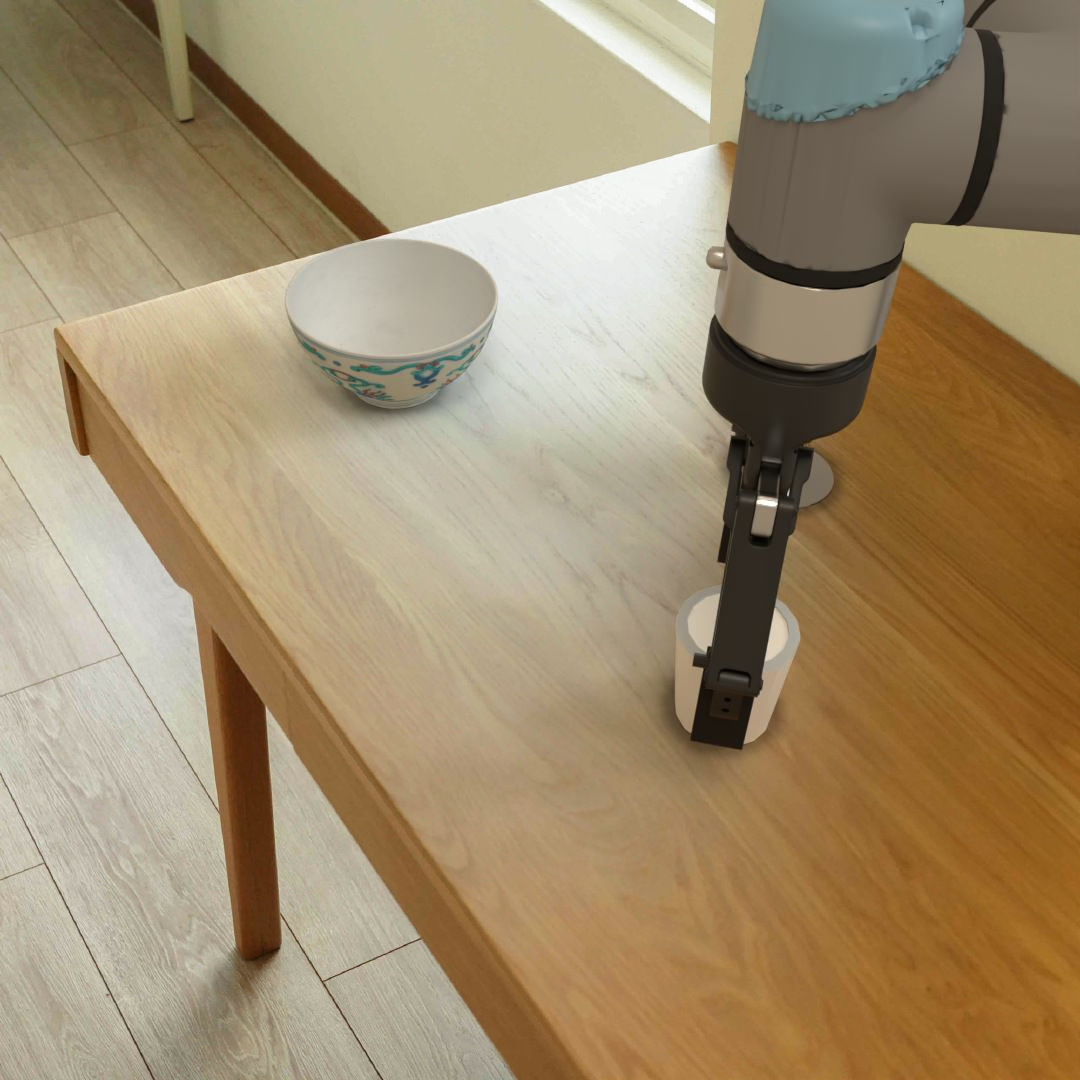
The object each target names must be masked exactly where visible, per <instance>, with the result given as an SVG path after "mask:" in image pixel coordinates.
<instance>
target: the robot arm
mask: <svg viewBox="0 0 1080 1080" xmlns="http://www.w3.org/2000/svg"><path fill="white" fill-rule="evenodd" d="M763 1H764V2H763V7H762V9H761V10H762V11H761V16H760V21H759V26H758V29H757V35H756V40H755V45H754V48H753V52H752V57H751V61H750V62H751V63H750V66H749V70H748V71H747V73H746V74H745V77H744V95H743V102H742V109H741V118H740V123H739V132H738V138H737V146H736V152H735V158H734V159H735V160H734V166H733V167H734V169H733V172H732V173H733V174H732V181H731V188H730V196H729V203H728V211H727V218H726V224H725V236H724V239H723V240H724V241H723V246H716V245H715V246H714V245H713V246H710V248H709V249H708V250H707V253H706V257H705V263H706V265H707V266H708V268H710V269H713V270H717V271H719V274H718V278H717V285H716V290H715V297H714V304H713V307H714V314H713V316H712V317H711V321H710V323H709V328H708V334H707V340H706V341H707V342H706V348H705V354H704V360H703V367H702V375H701V384H702V389H703V393H704V395H705V397H706V399H707V401H708V403H709V404H710V406H711V407H712V409H714V410H715V412H716V413H718V415H719V416H720V417H722V418H723V419H724V420H725V421H727V422H728V423H730V424H731V430H730V431H731V432H733V433H734V435H733V434H731V435H730V439H729V445H728V452H727V456H726V468H727V469H726V470H727V471H728V473H729V478H728V481H727V482H728V483H727V489H726V495H725V502H724V506H723V513H722V521H723V527H722V532H721V536H720V544H719V547H718V548H719V549H718V554H717V560H716V562H717V563H718V564H719V563H720V564H724V568H723V569H724V570H723V573H722V574H723V575H722V581H721V584H722V586H721V592H720V598H719V604H718V610H717V616H716V622H715V627H714V633H713V639H712V645H711V646H708V647H707V652H706V654H700V653H694V658H693V664H692V666H693V667H699V668H703V673H702V679H701V684H700V689H699V695H698V700H697V705H696V710H695V716H694V721H693V726H692V732H691V733H690V739H689V741H690V742H695V743H701V744H706V745H711V746H716V745H717V746H716V747H723V748H727V749H733V750H739V751H743V747H744V745H745V744H744V740H745V736H746V732H747V727H748V723H749V719H750V714H751V710H752V706H753V702H754V697H758V695H760V690H761V691H762V687H763V680H762V672H763V667H764V662H765V656H766V651H767V646H768V641H769V635H770V630H771V625H772V619H773V614H774V609H775V604H776V598H777V599H778V592H779V588H780V582H781V576H782V571H783V566H784V562H785V556H786V551H787V545H788V541H789V537H791V536H792V535H793V534H794V533H795V531H796V526H797V521H798V515H799V509H800V508H799V504H800V498H801V492H802V487H803V485H804V484H805V483H806V482H807V481H808V479H809V477H810V472H811V466H812V461H813V454H814V452H815V447H812V446H811V447H810V446H805V445H807V444H811V443H812V441H816V440H818V439H823V438H826V437H830V436H832V435H835V434H837V433H839V432H841V431H843V430H844V429H846V428H847V427H848V426H850V425H851V424H852V423H853V422H854V421H855V420H856V418H857V417H858V416H859V415H860V413H861V410H862V409H863V406H864V403H865V399H866V395H867V391H868V388H869V384H870V380H871V376H872V372H873V369H874V366H875V365H874V364H875V361H876V356H877V351H878V346H877V344H879V343H880V341H881V338H882V336H883V333H884V330H885V327H886V323H887V319H888V315H889V312H890V308H891V304H892V300H893V296H894V293H895V289H896V286H897V281H898V278H899V274H900V270H901V266H902V262H903V255H904V249H905V246H906V245H905V243H906V238H907V236H908V234H909V231H910V229H911V227H912V225H913V224H923V225H940V226H951V227H952V226H953V227H954V226H955V227H961V226H962V227H963V226H965V227H976V228H977V227H978V228H989V229H990V228H991V229H1002V230H1013V231H1014V230H1015V231H1023V232H1024V231H1025V232H1037V233H1051V234H1059V235H1060V234H1061V235H1075V236H1080V0H763ZM742 467H743V469H742ZM741 471H742V472H741ZM789 489H790V490H789ZM788 491H789V496H787V493H788Z"/></svg>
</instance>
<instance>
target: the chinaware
mask: <svg viewBox="0 0 1080 1080" xmlns="http://www.w3.org/2000/svg"><path fill="white" fill-rule="evenodd" d="M498 304H499V290H498V285H497V284H496V281H495V279H494V277H493V276H492V274H491V272H489V270H488V269H487V268H486V267H485V266H484V265H483V264H482V263H481V262H479V261H478V260H477V259H475V258H473V257H472V256H470V255H469V254H467V253H465V252H463V251H461V250H458V249H456V248H453V247H450V246H449V245H444V244H441V243H436V242H433V241H428V240H421V239H413V238H378V239H377V238H376V239H369V240H368V239H367V240H363V241H357V242H352V243H349V244H348V243H347V244H345V245H342V246H338V247H336V248H333V249H330V250H328V251H326V252H324V253H322V254H320V255H318V256H316V257H314V258H313V259H311V260H310V261H308V262H307V263H305V264H304V265H303V266H301V267H300V269H298V270H297V271H296V272H295V273H294V275H293V276H292V278H291V279H290V281H289V282H288V284H287V288H286V290H285V295H284V307H285V312H286V315H287V318H288V321H289V324H290V327H291V329H292V331H293V333H294V336H295V337H296V340H297V342H298V343H299V345H300V347H301V348H302V350H303V352H304V353H305V355H306V356H307V357H308V359H309V360H310V361H311V363H313V365H314V366H315V367H316V368H317V369H318V370H319V371H320V372H321V373H322V374H323V375H325V377H327V378H328V379H329V380H331V381H333V382H334V383H335V384H337V385H338V386H339V387H342V388H343V389H345V390H347V391H349V392H351V393H354V394H355V396H356V397H358V398H359V399H360V400H362V401H363V402H365V403H367V404H368V405H372V406H374V407H378V408H383V409H391V410H398V409H399V410H400V409H409V408H413V407H417V406H420V405H422V404H424V403H426V402H428V401H430V400H431V399H432V398H433V397H435V396H436V394H438V392H439V391H440V390H441V389H443V388H444V387H446V386H449V385H450V384H451V383H452V382H454V381H455V380H456V379H458V378H459V377H460V376H461V375H463V374H464V373H465V372H466V371H467V370H468V368H469V367H470V366H471V365H472V364H473V363H474V362H475V360H476V359H477V357H478V356H479V354H481V351H482V350H483V347H484V346H485V344H486V342H487V341H488V338H489V335H490V334H491V330H492V328H493V324H494V321H495V317H496V313H497V310H498Z"/></svg>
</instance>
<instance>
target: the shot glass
mask: <svg viewBox="0 0 1080 1080" xmlns="http://www.w3.org/2000/svg"><path fill="white" fill-rule="evenodd" d="M721 586H722V583H719V584H716V585H713V586H708V587H704V588H702V589H698V590H697V591H696V592H695V593H693V594H692V595H691V596H689V597H688V598H687V599H686V600H684V601H683V602H682V604H681V606H680V608H679V610H678V612H677V614H676V616H675V647H674V648H675V649H674V650H675V652H674V653H675V654H674V655H675V656H674V657H675V659H674V671H675V672H674V705H675V706H674V708H675V716H676V717H677V719H678V720H679V723H680V724H681V725H682V727H683V729H684V730H686V731H687V732H688V733H689V734H691V732H692V726H693V721H694V716H695V710H696V705H697V700H698V695H699V689H700V684H701V679H702V673H703V668H699V667H693V666H692V664H693V658H694V653H700V654H706V652H707V647H708V646H711V645H712V639H713V633H714V627H715V622H716V616H717V610H718V604H719V598H720V592H721ZM801 639H802V638H801V631H800V625H799V621H798V620H797V618H796V616H795V615H794V614H793V612H792V611H791V610H790V608H789V607H788V605H786V603H784V602H783V601H781V600H780V599H778V597H777V598H776V604H775V609H774V614H773V619H772V625H771V630H770V635H769V641H768V646H767V651H766V656H765V662H764V667H763V672H762V680H763V687H762V691H761V690H760V695H758V697H754V702H753V706H752V710H751V714H750V719H749V723H748V727H747V732H746V736H745V740H744V744H743V745H746V744H749V743H752V742H754V741H756V740H757V739H758V738H759V737H760V736H762V735H763V733H765V732H766V731H767V730H768V729H767V728H768V726H769V724H770V720H771V718H772V715H773V714H774V710H775V708H776V705H777V702H778V700H779V697H780V694H781V692H782V690H783V687H784V685H785V681H786V679H787V676H788V674H789V671H790V668H791V666H792V664H793V661H794V658H795V655H796V653H797V650H798V648H799V645H800V642H801ZM715 746H716V747H718V746H717V745H715Z"/></svg>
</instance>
